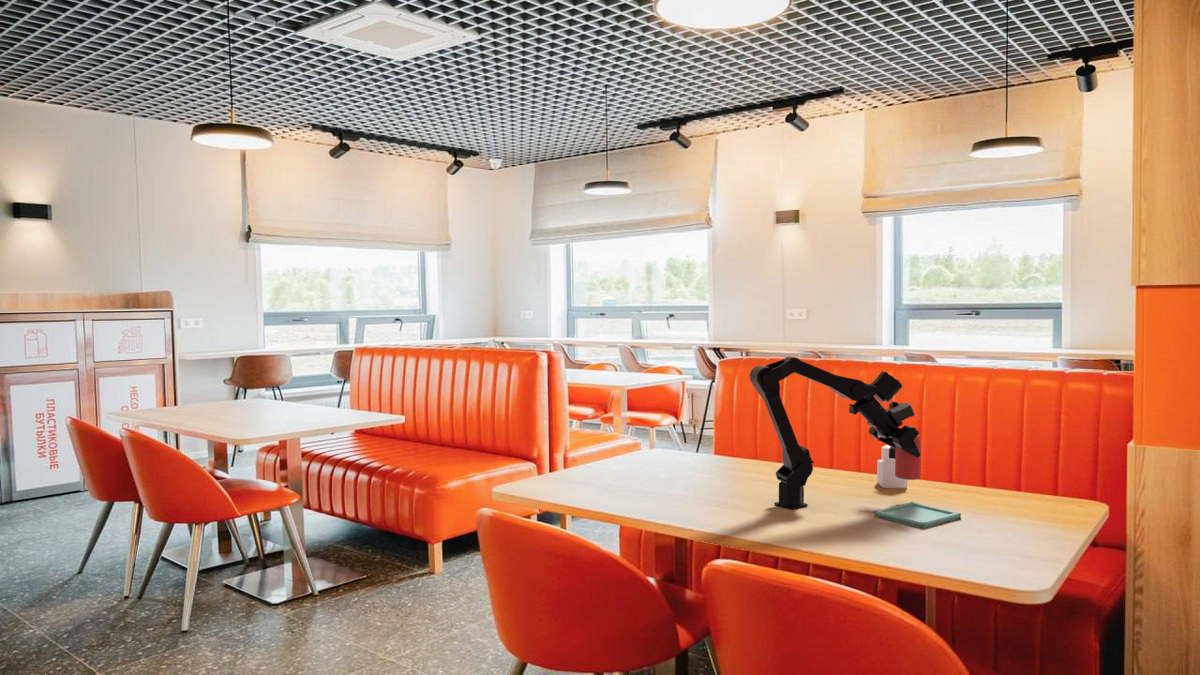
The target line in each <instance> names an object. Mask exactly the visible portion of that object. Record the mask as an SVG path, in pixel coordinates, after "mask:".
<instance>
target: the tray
mask: <svg viewBox="0 0 1200 675" xmlns="http://www.w3.org/2000/svg"><path fill="white" fill-rule="evenodd" d="M873 515H874V517H875V516H876V518H879V517H880V519H884V520H888V521H892V522H896V523H899V524H903V523H904V525H907V524H908V525H907V526H911V525H912V527H915V526H916V527H915V528H919V527H920V528H919V529H923V528H924V529H927V528H930V526H931V527H934V526H933V525H935V526H937V524H938V525H942V524H944V522H946V523H949V522H948V521H950V522H952V521H951V520H953V521H956V520H955V519H957V520H960V519H959V518H961V517H962V516H961V515H962V513H961V512H958V511H954V510H950V509H944V508H940V507H935V506H930V505H927V504H922V503H917V502H913V501H912V502H907V503H904V504H898V505H895V506H890V507H885V508H881V509H877V510H874V513H873ZM961 519H962V518H961ZM941 523H942V524H941ZM926 527H927V528H926Z"/></svg>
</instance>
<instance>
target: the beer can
mask: <svg viewBox="0 0 1200 675" xmlns="http://www.w3.org/2000/svg"><path fill="white" fill-rule="evenodd" d="M914 442H915V444H916V446H917V448H918V450H919V452H920V454H921V455H920V456H919V457H916V456H914V455H912V454H910V453H908V452H906V451H903V450H901V449H899V448H897V447H896V449H895V476H896V477H897V478H900V479H906V480H907V481H909V480H910V481H912V480H914V481H915V480H919V479H921V464H922V463H921V461H922V460H921V457H922V442H921V438H920V434H918V435H917V436H916V438H915V439H914Z"/></svg>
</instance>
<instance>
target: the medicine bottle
mask: <svg viewBox="0 0 1200 675" xmlns="http://www.w3.org/2000/svg"><path fill="white" fill-rule="evenodd" d="M895 449H896V448H894V447H892V446H889V445H887V444H885V445H884V446H881V459H877V461H876V462H877V465H876V468H877V472H876V474H877V475H876V482H877V484H878V485H879V486H880V487H881V488H883V489H908V480H906V479H900V478H897V477H896V476H895Z"/></svg>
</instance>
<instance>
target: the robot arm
mask: <svg viewBox="0 0 1200 675" xmlns="http://www.w3.org/2000/svg"><path fill="white" fill-rule="evenodd" d="M792 374H796V375H798V376H801V377H803V378H805V379H808V380H810V381H814V382H815V383H818V384H821V385H822V386H825V387H827V388H829V389H830V390H831V391H833V392H834V393H836V395H838V396H840V397H841V398H843V399H847V400H851V401H854V403H849V409H848V413H849V414H852V415H857V414H858V413H859V414H860V415H861V416H862V417H863V418H864V419H865V420H866V421H867V422H866V424H867V425H868V426H870V427H869V429H868V434H869V436H871V438H873V439H875V440H877V441H879V442H881V443H883V444H885V445H889V446H892V447H894V448H896V447H897V448H899V449H901V450H903V451H906V452H908V453H910V454H912V455H914V456H916V457H919V456H920V455H921V456H922V453H921V454H920V452H919V450H918V448H917V446H916V444H915V442H914V439H915V438H916V436H917V435H920V431H919V430H918V429H917V428H916V427H914V426H911V425H903V424H904V422H903V421H904V420H906V419H909V418H912V417H914V416H915V415H916V414H915V412H914V409H913V406H912V404H911V403H908V402H897V401H891V400H892V399H893V398H894V397H895V396H896V395H897V393H899V391H900V390H901V389H903V384H902V383H901V382H900V381H899V379H896V377H894V376H892V375H890V374H889V373H888V371H884V370H881V372H880V373H879V374H878V375H877V377H876V378H875V379H874V380H873V381H872V382H871V383H866V382H864V381H862V380H861V379H855V378H851V377H846V376H841V375H837V374H835V373H832V372H829V371H827V370H825V369H822V368H819V367H817V366H815V365H813V364H810V363H808V362H805V361H803V360H801V359H799V358H798V357H795V356H787V357H784V358H783V359H781V360H778V361H777V360H776V361H774V362H771V363H768V364H766V365H757V366H754V367H753V368H752V369H751V370H750V373H749V380H750V382H751V383H752V386H753V387H754V389H755V390H756V392H757V393H758V394H759V396H760V397H761V399H762V400H763V401H764V405H765V407H766V409H767V411H768V415H769V417H770V420H771V422H772V425H773V428H774V429H775V432H776V435H777V439H778V440H779V442H780V445H781V459H782V464H783V465H781V467H779V469H777V471H776V472H775V475H776V476H775V477H776V479H777V480H778V481H780V482H778V501H777V502H774V503H773V504H774V505H775V506H779V507H783V508H786V509H789V510H795V509H799V508H802V507H803V508H804V507H808V503H805V502H804V501H805V500H804V498H805V488H804V487H805V486H806V485H807V482H808V478H809V477H810V476H811V475H812V473H813V470H814V466H813V464H814V463H815V462H814V461H813V459H812V458H811V453H810V450H809V448H806V447H804V446H802V445H799V442H798V440H797V438H796V435H795V432H794V429H793V427H792V425H791V421H790V419H789V417H788V413H787V412H786V408H785V406H784V403H783V401H782V398H781V392H780V391H781V385H780V381H782V380H784V379H786V378H787V377H789V376H790V375H792ZM880 402H881V403H884V402H887V403H889V404H888V406H889V407H888V409H886V408H885V407H884V405H882V404H881V403H880ZM902 425H903V426H902ZM901 426H902V427H901ZM900 427H901V428H900Z"/></svg>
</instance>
